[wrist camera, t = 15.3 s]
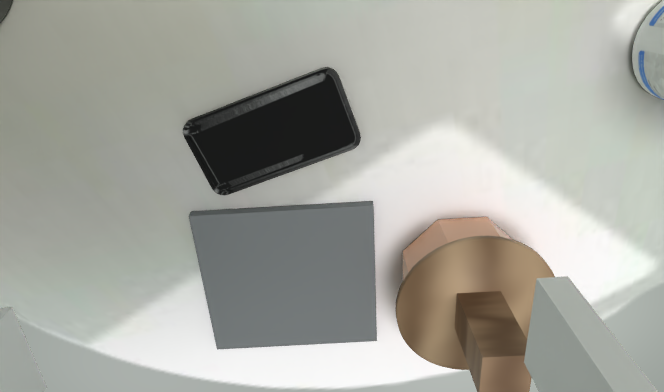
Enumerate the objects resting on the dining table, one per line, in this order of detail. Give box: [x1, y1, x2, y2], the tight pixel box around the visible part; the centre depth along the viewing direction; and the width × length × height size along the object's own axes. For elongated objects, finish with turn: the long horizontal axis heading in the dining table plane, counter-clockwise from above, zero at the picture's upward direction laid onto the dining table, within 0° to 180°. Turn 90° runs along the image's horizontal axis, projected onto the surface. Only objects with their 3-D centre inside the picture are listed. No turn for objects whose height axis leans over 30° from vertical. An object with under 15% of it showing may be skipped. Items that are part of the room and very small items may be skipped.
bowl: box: [402, 217, 511, 282], centre depth 48 cm, size 12×12×6 cm
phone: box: [183, 67, 361, 195], centre depth 44 cm, size 8×1×15 cm
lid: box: [396, 236, 555, 392], centre depth 41 cm, size 15×15×9 cm
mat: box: [189, 201, 377, 349], centre depth 50 cm, size 18×17×1 cm
